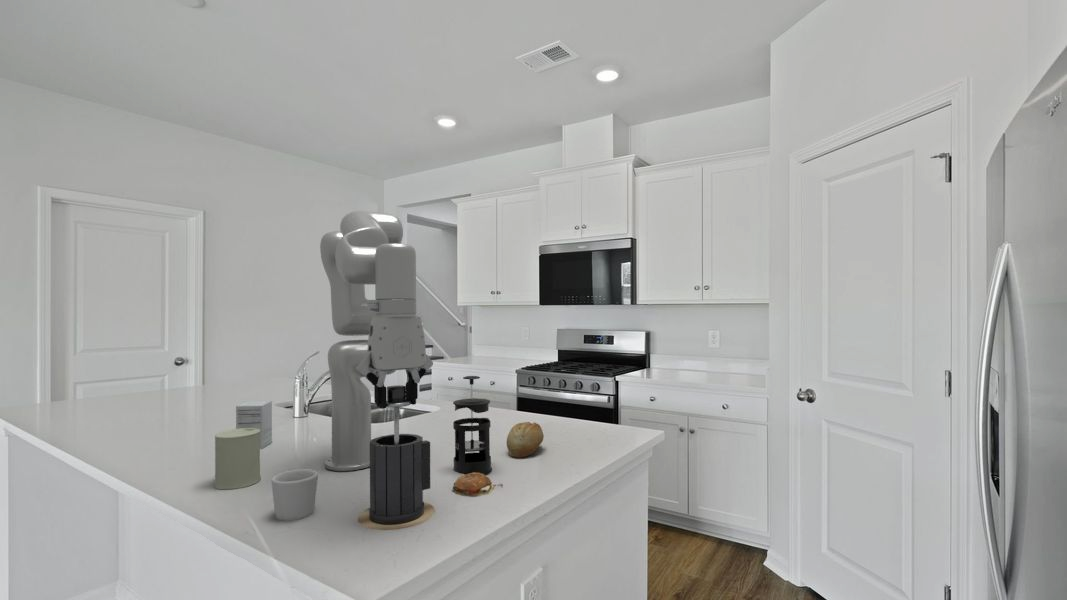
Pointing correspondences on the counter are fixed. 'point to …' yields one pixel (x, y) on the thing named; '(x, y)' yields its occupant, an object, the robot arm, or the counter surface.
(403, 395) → the plunger
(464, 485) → the hamburger
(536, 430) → the bread roll
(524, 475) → the counter surface
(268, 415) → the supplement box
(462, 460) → the french press
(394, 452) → the dark slatted tankard
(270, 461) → the counter surface
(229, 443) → the can
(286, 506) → the cup
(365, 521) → the trivet
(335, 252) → the robot arm
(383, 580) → the counter surface
